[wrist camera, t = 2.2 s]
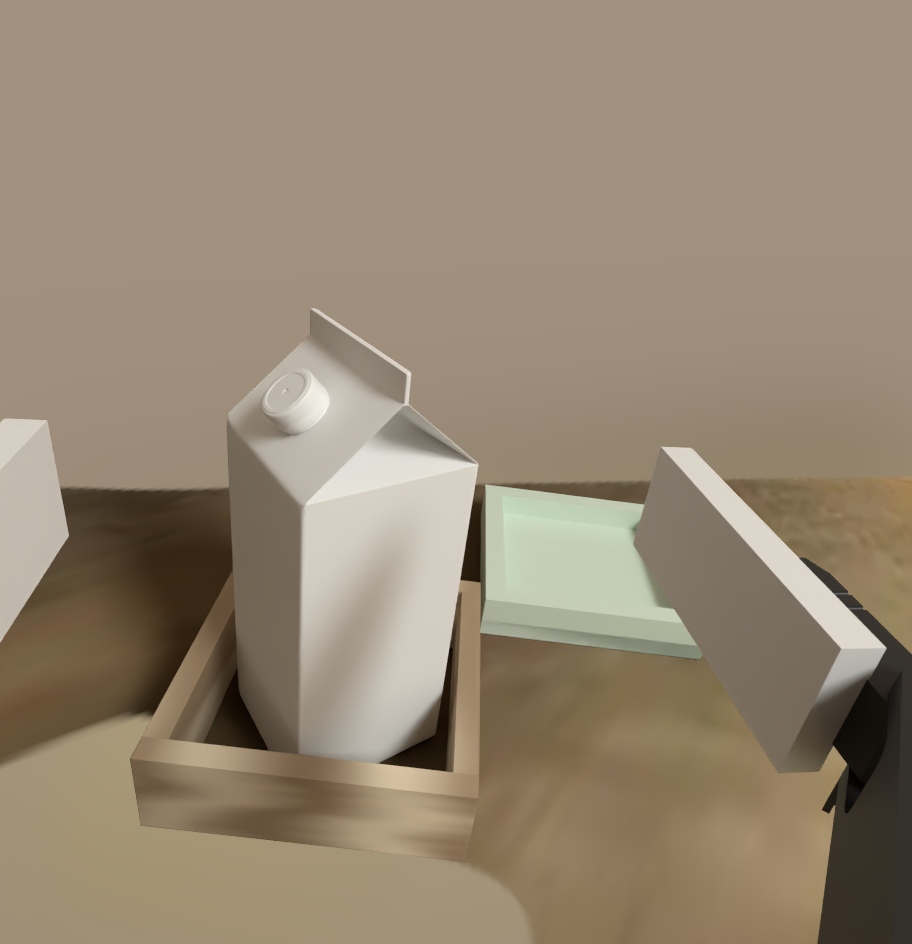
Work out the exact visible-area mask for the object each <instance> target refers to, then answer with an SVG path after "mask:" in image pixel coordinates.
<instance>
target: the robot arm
mask: <svg viewBox="0 0 912 944" xmlns="http://www.w3.org/2000/svg"><path fill="white" fill-rule="evenodd" d="M68 536H69V534H68V528H67V523H66V518H65V512H64V507H63V502H62V497H61V491H60V486H59V481H58V476H57V470H56V465H55V460H54V455H53V449H52V444H51V439H50V433H49V429H48V423H47V420H25V419H24V420H23V419H4V420H3V421H2V422H1V423H0V642H1V640H2V639H3V637H4V636H5V634H6V633H7V631H8V629H9V628H10V626H11V625H12V623H13V622H14V620H15V619H16V617H17V615H18V614H19V612H20V611H21V609H22V608H23V606H24V605H25V603H26V601H27V600H28V598H29V597H30V595H31V594H32V592H33V591H34V589H35V587H36V586H37V584H38V583H39V581H40V580H41V578H42V577H43V575H44V573H45V572H46V570H47V569H48V567H49V566H50V564H51V563H52V561H53V560H54V558H55V556H56V555H57V553H58V552H59V550H60V549H61V547H62V546H63V544H64V542H65V541H66V539H67V538H68ZM633 545H634V547H635V548H636V550H637V551H638V553H639V555H640V556H641V558H642V559H643V561H644V562H645V564H646V566H647V567H648V569H649V570H650V572H651V574H652V575H653V577H654V578H655V580H656V581H657V583H658V585H659V586H660V588H661V589H662V591H663V592H664V594H665V596H666V597H667V599H668V600H669V602H670V603H671V605H672V607H673V608H674V610H675V611H676V613H677V614H678V616H679V618H680V619H681V621H682V622H683V624H684V626H685V627H686V629H687V630H688V632H689V633H690V635H691V637H692V638H693V640H694V641H695V643H696V644H697V646H698V648H699V649H700V651H701V652H702V654H703V655H704V657H705V659H706V660H707V662H708V663H709V665H710V666H711V668H712V670H713V671H714V673H715V674H716V676H717V678H718V679H719V681H720V682H721V684H722V685H723V687H724V689H725V690H726V692H727V693H728V695H729V696H730V698H731V700H732V701H733V703H734V704H735V706H736V707H737V709H738V711H739V712H740V714H741V715H742V717H743V718H744V720H745V722H746V723H747V725H748V726H749V728H750V730H751V731H752V733H753V734H754V736H755V737H756V739H757V741H758V742H759V744H760V745H761V747H762V748H763V750H764V752H765V753H766V755H767V756H768V758H769V759H770V761H771V763H772V764H773V766H774V767H775V769H776V770H777V772H778V773H794V772H815V771H820V769H821V767H822V765H823V763H824V762H825V760H826V758H827V756H828V754H829V752H830V751H831V749H832V747H833V745H834V747H835V748H836V749H837V751H838V752H839V753H840V755H841V756H842V757H843V759H844V760H845V761H846V763H847V766H846V768H845V770H844V771H843V773H842V775H841V777H840V778H839V780H838V782H837V784H836V785H835V787H834V789H833V790H832V792H831V794H830V796H829V797H828V799H827V801H826V803H825V805H824V807H823V809H822V810H823V811H825V812H827V813H830V811H831V809H832V808H833V806H834V805H836V807H835V814H834V822H833V830H832V837H831V845H830V852H829V860H828V868H827V875H826V883H825V891H824V898H823V906H822V914H821V921H820V929H819V937H818V944H912V654H911V653H910V652H909V651H908V650H907V649H906V648H905V647H904V646H903V645H902V644H901V643H899V642H898V641H897V640H896V639H895V638H894V637H893V636H892V635H891V634H890V633H889V632H888V631H887V630H886V629H885V628H884V627H883V626H882V625H881V624H880V623H879V622H878V621H877V620H876V619H875V618H874V617H873V616H872V615H871V614H870V613H869V612H868V611H867V610H863V606H862V605H861V604H860V603H859V602H858V601H857V600H856V599H855V598H854V597H853V596H852V595H848V591H847V590H846V589H845V588H844V587H843V586H842V585H841V584H840V583H839V582H838V581H837V580H836V579H835V578H834V577H833V576H832V575H831V574H830V573H828V572H827V571H825V570H823V569H822V568H820V567H819V566H817V565H816V564H814V563H812V562H811V561H809V560H808V559H806V558H798V557H797V556H796V555H795V554H794V553H793V552H792V551H791V550H790V549H789V548H788V547H787V546H786V545H785V543H784V542H783V541H782V540H781V539H780V538H779V537H778V536H777V535H776V534H775V533H774V532H773V531H772V530H771V529H770V528H769V527H768V526H767V525H766V524H765V523H764V522H763V521H762V520H761V519H760V518H759V517H758V516H757V515H756V514H755V513H754V512H753V511H752V510H751V509H750V508H749V507H748V506H747V505H746V504H745V503H744V501H743V500H742V499H741V498H740V497H739V496H738V495H737V494H736V493H735V492H734V491H733V490H732V489H731V488H730V487H729V486H728V485H727V484H726V483H725V482H724V481H723V480H722V479H721V478H720V477H719V476H718V475H717V474H716V473H715V472H714V471H713V470H712V469H711V468H710V467H709V466H708V465H707V464H706V463H705V462H704V461H703V460H702V459H701V457H700V456H698V454H697V453H696V452H695V451H694V450H693V449H692V448H676V447H661V449H660V452H659V456H658V460H657V463H656V466H655V470H654V473H653V477H652V480H651V484H650V487H649V491H648V494H647V498H646V501H645V505H644V508H643V512H642V515H641V519H640V522H639V526H638V529H637V533H636V536H635V540H634V543H633Z"/></svg>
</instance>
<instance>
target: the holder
mask: <svg viewBox="0 0 912 944" xmlns="http://www.w3.org/2000/svg"><path fill="white" fill-rule="evenodd" d="M480 610H481V583H480V582H472V581H464V580H460V584H459V590H458V596H457V602H456V609H455V615H454V621H453V628H452V634H451V640H450V647H449V648H453V654H452V671H451V688H450V704H449V721H448V738H447V755H446V772H445V771H437V770H428V769H419V768H411V767H402V766H394V765H385V764H376V763H368V762H359V761H350V760H342V759H333V758H324V757H316V756H307V755H298V754H290V753H281V752H273V751H264V750H255V749H247V748H238V747H229V746H221V745H212V744H204V742H205V739H206V737H207V735H208V732H209V730H210V728H211V726H212V723H213V721H214V719H215V717H216V714H217V712H218V710H219V708H220V705H221V703H222V701H223V699H224V696H225V694H226V692H227V689H228V687H229V685H230V683H231V680H232V678H233V676H234V674H235V671H236V669H237V646H236V624H235V602H234V580H233V570H232V572H231V574H230V576H229V578H228V579H227V581H226V583H225V585H224V587H223V589H222V590H221V592H220V594H219V596H218V598H217V600H216V602H215V603H214V605H213V607H212V609H211V611H210V613H209V614H208V616H207V618H206V620H205V622H204V624H203V625H202V627H201V629H200V631H199V633H198V635H197V636H196V638H195V640H194V642H193V644H192V646H191V647H190V649H189V651H188V653H187V655H186V657H185V658H184V660H183V662H182V664H181V666H180V668H179V670H178V671H177V673H176V675H175V677H174V679H173V681H172V682H171V684H170V686H169V688H168V690H167V692H166V693H165V695H164V697H163V699H162V701H161V703H160V704H159V706H158V708H157V710H156V712H155V714H154V715H153V717H152V719H151V721H150V723H149V725H148V726H147V728H146V730H145V732H144V734H143V736H142V738H141V740H140V741H139V743H138V745H137V747H136V749H135V750H134V752H133V754H132V756H131V758H130V762H131V768H132V774H133V780H134V786H135V792H136V799H137V805H138V811H139V817H140V822H141V826H149V827H158V828H167V829H176V830H186V831H194V832H203V833H211V834H221V835H230V836H238V837H248V838H256V839H265V840H274V841H283V842H293V843H301V844H310V845H318V846H327V847H337V848H345V849H354V850H363V851H372V852H381V853H390V854H398V855H407V856H416V857H425V858H434V859H443V860H452V861H461V862H465V859H466V855H467V850H468V846H469V841H470V837H471V832H472V827H473V823H474V818H475V814H476V809H477V805H478V800H479V719H480Z"/></svg>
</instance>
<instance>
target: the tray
mask: <svg viewBox="0 0 912 944" xmlns="http://www.w3.org/2000/svg"><path fill="white" fill-rule="evenodd" d="M643 508H644V505H641V504H633V503H626V502H618V501H610V500H602V499H594V498H586V497H578V496H570V495H563V494H555V493H547V492H539V491H531V490H523V489H515V488H507V487H500V486H492V485H486V486H485V492H484V498H483V504H482V510H481V548H480V583H481V610H480V633H485V634H493V635H501V636H510V637H518V638H526V639H534V640H543V641H551V642H559V643H567V644H576V645H584V646H592V647H600V648H609V649H617V650H625V651H633V652H642V653H650V654H658V655H666V656H675V657H683V658H691V659H699V660H700V659H701V656H702V652H701V651H700V649H699V648H698V646H697V644H696V643H695V641H694V640H693V638H692V637H691V635H690V633H689V632H688V630H687V629H686V627H685V626H684V624H683V622H682V621H681V619H680V618H679V616H678V614H677V613H676V611H675V610H674V608H673V607H672V605H671V603H670V602H669V600H668V599H667V597H666V596H665V594H664V592H663V591H662V589H661V588H660V586H659V585H658V583H657V581H656V580H655V578H654V577H653V575H652V574H651V572H650V570H649V569H648V567H647V566H646V564H645V562H644V561H643V559H642V558H641V556H640V555H639V553H638V551H637V550H636V548H635V547H634V545H633V543H634V540H635V536H636V533H637V529H638V526H639V522H640V519H641V515H642V512H643Z"/></svg>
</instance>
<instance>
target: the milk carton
mask: <svg viewBox="0 0 912 944" xmlns="http://www.w3.org/2000/svg"><path fill="white" fill-rule="evenodd" d="M410 379H411V372H410V371H408V370H407V369H405V368H404V367H402V366H401V365H399V364H398V363H396V362H395V361H393V360H392V359H390V358H389V357H387V356H386V355H384V354H383V353H381V352H380V351H378V350H377V349H375V348H374V347H372V346H371V345H369V344H368V343H366V342H365V341H363V340H362V339H360V338H359V337H358V336H356V335H355V334H353V333H352V332H350V331H348V330H347V329H346V328H344V327H342V326H341V325H340V324H338V323H337V322H335V321H334V320H332V319H331V318H329V317H327V316H326V315H325V314H323V313H322V312H320V311H319V310H317V309H316V308H312V309H311V310H310V335H309V336H308V337H307V338H306V339H305V340H304V341H303V342H302V343H301V344H300V345H299V346H298V347H297V348H295V350H293V351H292V352H291V353H290V354H289V355H288V356H287V357H286V358H285V359H284V360H283V361H282V362H281V363H280V364H279V365H278V366H277V367H276V368H275V369H274V370H273V371H272V372H271V373H270V374H268V375H267V377H265V378H264V379H263V380H262V381H261V383H259V384H258V385H257V386H256V387H255V388H254V389H253V390H252V391H251V392H250V393H249V394H248V395H247V396H246V397H245V398H244V399H243V400H242V401H241V402H239V403H238V404H237V405H236V406H235V407H234V408H233V409H232V410H231V411H230V412H229V414H228V416H227V447H228V470H229V492H230V514H231V536H232V558H233V580H234V602H235V624H236V646H237V668H238V688H239V693H240V696H241V698H242V700H243V702H244V704H245V706H246V708H247V709H248V711H249V713H250V715H251V717H252V719H253V721H254V723H255V725H256V727H257V729H258V731H259V733H260V734H261V736H262V738H263V740H264V742H265V744H266V746H267V748H268V750H269V751H273V752H281V753H290V754H298V755H307V756H316V757H324V758H333V759H342V760H350V761H359V762H368V763H376V764H377V763H379V762H382V761H384V760H386V759H388V758H390V757H392V756H394V755H396V754H398V753H400V752H402V751H404V750H406V749H408V748H410V747H412V746H414V745H416V744H418V743H420V742H422V741H424V740H426V739H428V738H430V737H432V736H434V735H435V734H436V729H437V722H438V716H439V710H440V704H441V697H442V691H443V685H444V678H445V672H446V666H447V659H448V653H449V647H450V640H451V634H452V628H453V621H454V615H455V609H456V602H457V596H458V590H459V584H460V577H461V571H462V565H463V558H464V552H465V546H466V539H467V533H468V527H469V520H470V514H471V508H472V501H473V495H474V489H475V482H476V475H477V470H478V465H479V464H478V463H477V462H476V461H475V460H473V459H472V458H471V457H470V456H468V455H467V454H466V453H465V452H464V451H463V450H462V449H460V448H459V447H458V446H457V445H456V444H454V443H453V442H452V441H451V440H449V438H447V437H446V436H445V435H444V434H443V433H441V432H440V431H439V430H438V429H437V428H435V427H434V426H433V425H432V424H431V423H430V422H429V421H427V420H426V419H425V418H424V417H423V416H421V415H420V414H419V413H418V412H417V411H416V410H414V409H413V408H412V407H411V406H410V405H409V404H408V400H409V391H410Z"/></svg>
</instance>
